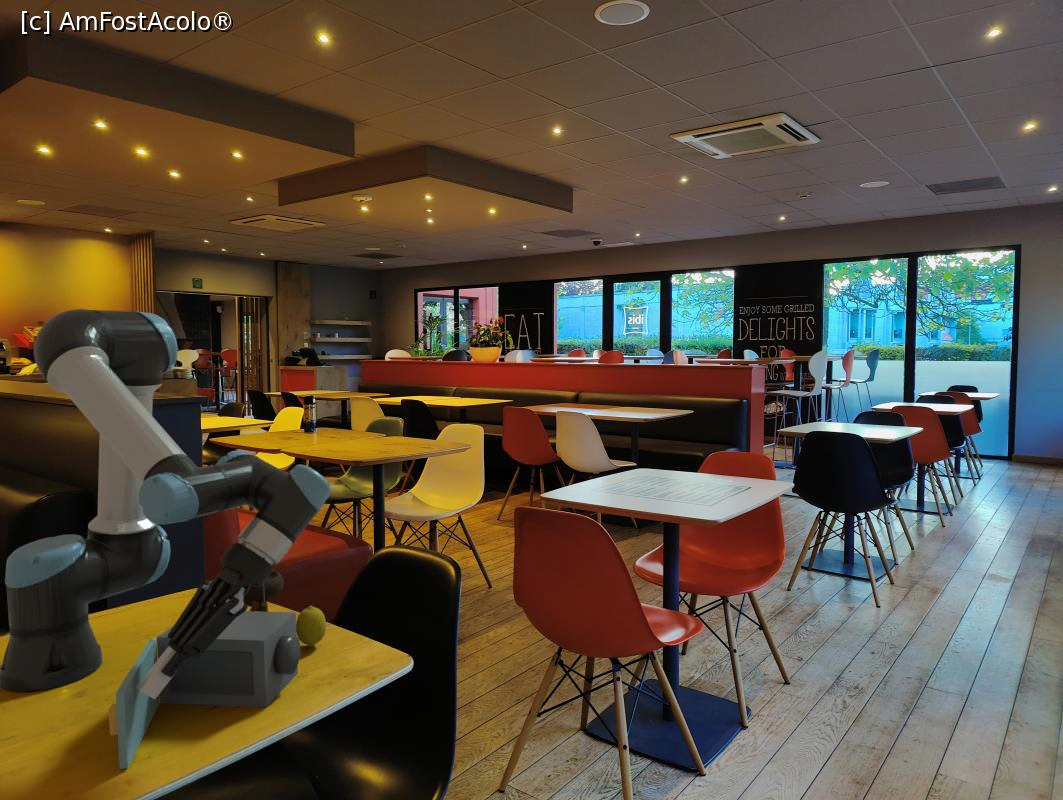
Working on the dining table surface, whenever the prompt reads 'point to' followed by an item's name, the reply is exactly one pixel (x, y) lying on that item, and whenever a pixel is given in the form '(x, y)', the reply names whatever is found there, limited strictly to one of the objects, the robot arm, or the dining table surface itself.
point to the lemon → (311, 626)
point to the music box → (264, 592)
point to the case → (238, 663)
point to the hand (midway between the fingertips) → (145, 693)
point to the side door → (133, 707)
